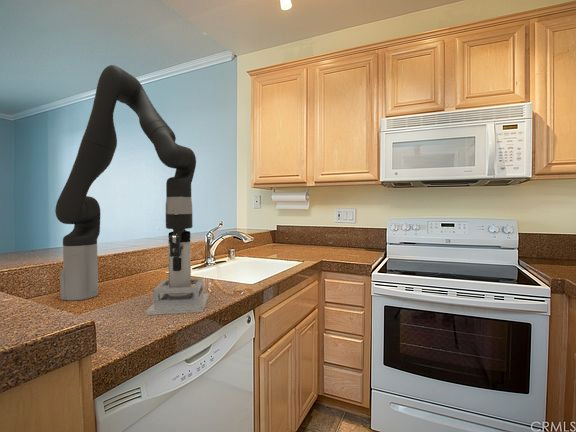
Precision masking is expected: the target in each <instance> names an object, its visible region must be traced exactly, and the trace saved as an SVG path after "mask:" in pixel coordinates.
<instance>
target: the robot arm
mask: <svg viewBox="0 0 576 432" xmlns="http://www.w3.org/2000/svg"><path fill="white" fill-rule="evenodd" d="M95 89H96V91H95V94H94V99H93V103H92V109H91V111H90V115H89V117H88V122H87V126H86V129H85V131H84V133H83V136H82V139H81V141H80V144H79V148H78V151H77V153H76V157H75V161H74V162H73V165H72V168H71V170H70V173H69V176H68V178H67V180H66V183H65V185H64V187H63V189H62V191H61V193H60V195H59V196H58V199H57V201H56V205H55V209H54V210H55V216H56V219H57V221H59V222H60V223H62V224H65V225H74V226H73V229H72V231H70V232H69V233H68V234H66V235H64V236H63V238H62V260H63V261H62V262H63V263H62V265H63V266H62V269H60V271H59V280H60V281H59V283H60V284H59V286H60V287H59V288H60V300H62V301H63V300H64V301H79V300H80V301H82V300H87V299H92V298H94V297H97V296H98V295H99V277H98V275H99V272H98V271H99V270H98V269H99V268H98V239H99V236H100V232H101V206H100V203H99V202H98V200H97V199H96V198H94V197H92V196H89V195H88V192H89V190H90V188H91V186H92V184H93V183H94V182H95V180H97V178H99V177H100V176H101V175H102V174H103V173H104V172H105V171H106V170H107V169H108V168H109V166H110V165H111V163H112V161H113V159H114V155H115V152H116V149H117V146H118V139H117V138H118V137H117V132H116V127H115V123H114V112H115V108H116V104H117V102H119V103H121V104H123V105H126V106H128V107H129V109H131V110H132V111H133V112H134V113H135V114H136V115H137V117H138V123H139V125H140V128H141V130H142V131H143V133H144V135H146V137H147V138H148V140H149V141H150V142H151V143H152V145H153V147H154V150H155V152H156V154H157V157H158V158H159V161H160V162H161V163H162V164H164V166H165V167H167V168H171V169H175V172H174V176H172V177H169V178H167V179H166V185H165V187H166V190H165V191H166V193H165V194H166V198H165V228H166V229H167V230H172V232H173V236H170V237H169V236H168V240H169V239H170V256H171V257H172V258H173V271H180V270H181V257H182V250H183V249H184V242H183V243H182V245H181V247H180V242H181V234H183V233H185V230H186V229H187V230H188V229H189V230H190V229H192V228H193V225H194V224H193V201H192V182H193V179H194V175H195V171H196V166H197V157H196V155H195V152H194V151H193V150H192V149H191V148H189V147H186V146H183V145H180V144H178V143H176V134H175V132H174V130H173V129H172V128H171V127H170V126H169V125H168V123H167V122H166V121H165V119H163V118H162V115H160V113H158V110H157V109H156V108H155V107H154V105H153V103H152V102H151V100H150V99H149V96H148V94H147V92H146V91H145V88H144V87H143V85H142V83H141V82H140V81H139V80H138V79H137V77H135V76H133V75H132V74H131V73H129V72H127V71H126V70H124V69H122V68H121V67H119V66H117V65H116V64H115V65H113V64H111V65H108V66H106V67H105V68H103V70H102V72H101V73H100V76H99V78H98V81H97V85H96V88H95ZM175 250H178V252H175Z"/></svg>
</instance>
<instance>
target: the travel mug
mask: <svg viewBox="0 0 576 432" xmlns="http://www.w3.org/2000/svg"><path fill="white" fill-rule="evenodd" d="M170 236H173V231H169V232H168V243H167V244H168V249H167V250H168V254H167V255H168V256H167V257H168V258H167V259H168V280H169V285H168V287H188V286H192V284H191V279H192V274H191V273H192V271H191V269H192V265H191V264H192V263H191V262H192V261H191V260H192V259H191V258H192V256H191V255H192V254H191V252H192V249H191V247H192V245H191V242H192V241H191V231H189V230H186V229H185V233H183V234H181V242H180V247H181V245H182V243H183V242H184V249H183V250H182V257H181V270H180V271H173V258H172V257H171V256H170V239H169V237H170ZM175 252H178V250H175ZM190 296H191V293H173V294H169V298H170V299H186V298H189V297H190Z"/></svg>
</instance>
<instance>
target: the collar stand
mask: <svg viewBox="0 0 576 432" xmlns="http://www.w3.org/2000/svg"><path fill="white" fill-rule="evenodd" d="M193 285H194V286H193ZM173 293H191V296H190V297H189V298H186V299H170V298H169V294H173ZM209 297H210V293H206V292H205V293H204V278H201V277H200V278H191V286H188V287H169V279H163V280H162V281H161V282H160V283H159V284H158V285H156V286H155V287H154V288H153V303H152V304H151V305H150V306H149V307H148V308H147V310H146V311H145V316H154V315H173V314H175V315H176V314H190V313H203V312H204V310H205V308H206V305H207V302H208V300H209Z"/></svg>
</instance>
